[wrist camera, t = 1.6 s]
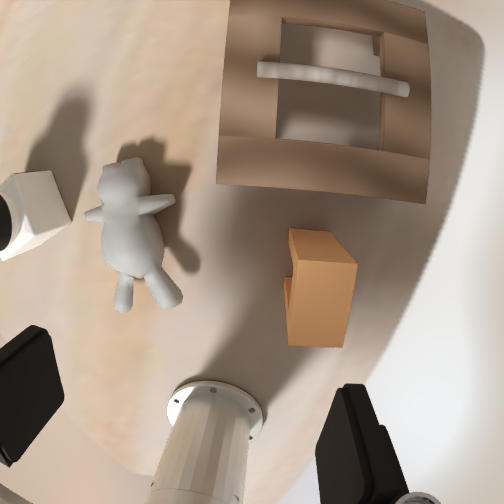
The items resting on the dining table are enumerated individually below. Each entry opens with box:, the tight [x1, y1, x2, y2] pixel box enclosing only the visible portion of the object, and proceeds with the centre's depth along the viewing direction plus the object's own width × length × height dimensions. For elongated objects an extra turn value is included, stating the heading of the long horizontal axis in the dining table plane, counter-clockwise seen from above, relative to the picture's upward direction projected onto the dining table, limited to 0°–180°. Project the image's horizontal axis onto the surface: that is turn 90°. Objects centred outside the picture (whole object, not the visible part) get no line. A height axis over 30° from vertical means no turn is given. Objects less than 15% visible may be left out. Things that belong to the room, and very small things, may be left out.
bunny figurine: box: [85, 157, 183, 313], centre depth 30 cm, size 10×5×15 cm
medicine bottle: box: [0, 170, 71, 260], centre depth 26 cm, size 7×7×12 cm
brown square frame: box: [216, 0, 431, 204], centre depth 23 cm, size 17×16×9 cm
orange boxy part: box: [284, 228, 358, 348], centre depth 26 cm, size 6×4×11 cm, turn 177°
